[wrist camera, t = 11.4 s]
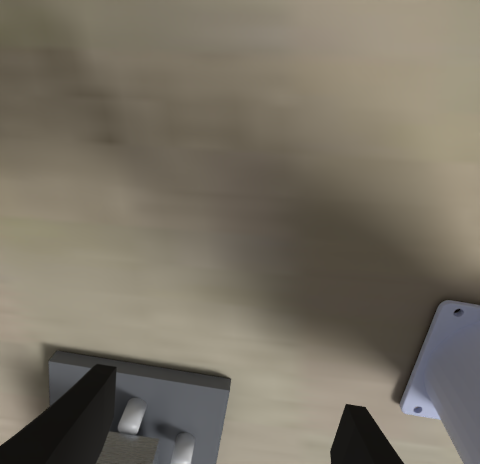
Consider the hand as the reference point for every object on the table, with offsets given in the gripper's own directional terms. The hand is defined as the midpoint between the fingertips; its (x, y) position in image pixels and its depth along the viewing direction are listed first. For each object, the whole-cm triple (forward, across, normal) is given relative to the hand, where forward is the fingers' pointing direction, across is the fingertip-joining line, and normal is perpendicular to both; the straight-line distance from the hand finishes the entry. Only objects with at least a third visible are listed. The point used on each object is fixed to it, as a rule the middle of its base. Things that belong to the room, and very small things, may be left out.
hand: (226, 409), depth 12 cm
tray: (+10, +5, +16) cm, 20 cm away
